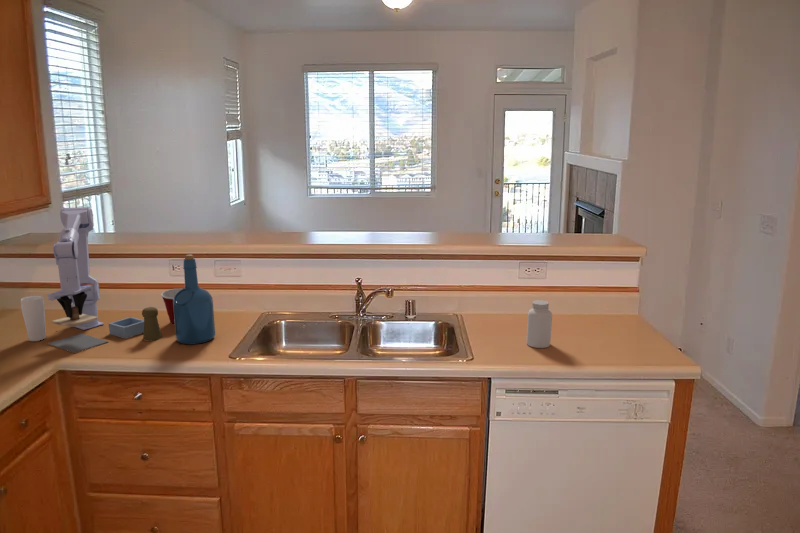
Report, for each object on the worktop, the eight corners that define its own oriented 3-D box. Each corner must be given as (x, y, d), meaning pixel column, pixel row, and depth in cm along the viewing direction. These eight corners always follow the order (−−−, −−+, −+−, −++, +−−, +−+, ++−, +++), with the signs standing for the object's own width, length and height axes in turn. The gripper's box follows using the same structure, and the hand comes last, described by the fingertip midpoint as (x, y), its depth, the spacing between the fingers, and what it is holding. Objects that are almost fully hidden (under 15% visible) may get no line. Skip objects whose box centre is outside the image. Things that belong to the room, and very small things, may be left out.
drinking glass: (53, 337, 214) (47, 296, 210) (34, 343, 208) (28, 301, 204) (40, 335, 216) (34, 294, 213) (21, 341, 210) (15, 299, 207)
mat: (47, 344, 207) (47, 343, 207) (81, 334, 217) (81, 333, 217) (74, 353, 199) (74, 352, 199) (108, 342, 209) (108, 341, 209)
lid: (52, 323, 204) (50, 309, 203) (79, 315, 213) (78, 302, 212) (70, 327, 199) (68, 313, 198) (98, 319, 208) (96, 305, 207)
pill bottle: (536, 350, 201) (539, 306, 197) (521, 342, 208) (523, 300, 204) (555, 346, 204) (557, 303, 201) (539, 339, 211) (541, 297, 208)
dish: (109, 334, 217) (108, 323, 216) (132, 327, 225) (131, 316, 224) (125, 338, 213) (124, 327, 212) (147, 331, 220) (146, 320, 219)
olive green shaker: (155, 341, 210) (152, 310, 207) (139, 340, 211) (136, 309, 209) (165, 335, 216) (162, 305, 213) (149, 334, 217) (146, 304, 214)
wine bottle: (192, 330, 220) (185, 250, 214) (223, 335, 216) (217, 252, 209) (166, 343, 208) (158, 257, 201) (198, 347, 204) (191, 260, 197)
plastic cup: (166, 329, 223) (163, 297, 220) (161, 321, 232) (158, 290, 229) (196, 324, 228) (194, 293, 225) (190, 316, 237) (188, 287, 234)
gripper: (54, 283, 195) (59, 323, 198) (96, 274, 207) (101, 312, 210) (42, 280, 198) (47, 320, 201) (84, 271, 210) (89, 309, 213)
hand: (74, 315), depth 206 cm, fingers closed on lid, 3 cm apart
